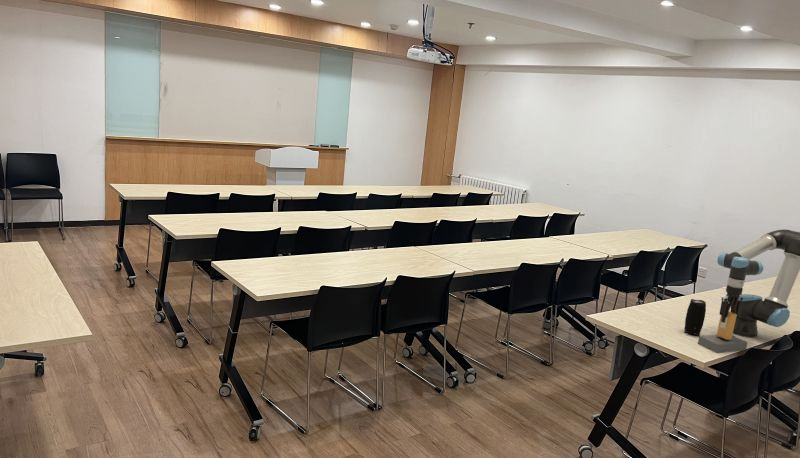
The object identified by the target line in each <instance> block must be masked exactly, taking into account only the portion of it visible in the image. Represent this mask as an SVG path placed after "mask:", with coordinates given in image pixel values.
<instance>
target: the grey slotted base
mask: <svg viewBox="0 0 800 458" xmlns="http://www.w3.org/2000/svg"><path fill="white" fill-rule="evenodd" d="M697 345H700V346H702V347H704V348H706V349H707V350H710V351H711V352H714V353H717V354H718V353H729V352H739V351H747V347H748V341H746V340H744V339H741V338H739V337H736V336H734V335H732V339H724V338H722V337H719V336H717V334H707V335H706V334H705V335H699V336H698V342H697Z"/></svg>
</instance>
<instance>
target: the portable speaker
mask: <svg viewBox="0 0 800 458" xmlns="http://www.w3.org/2000/svg"><path fill="white" fill-rule="evenodd" d="M706 303H707V302H706V301H705V300H702V299H694V298H691V299H690V302H689V305H688V307H687V311H686V313H685V319H684V333H685V334H687V335H695V336H696V337H699V336H700V334H701V331H702V329H703V326H704V322H705V318H706V310H707V309H706V308H707V304H706Z"/></svg>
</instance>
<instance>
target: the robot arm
mask: <svg viewBox="0 0 800 458" xmlns="http://www.w3.org/2000/svg"><path fill="white" fill-rule="evenodd" d="M774 250H783V254H784V256H785V257H784V260H783V261H782V264H781V267H780V269H779V272H778V273H777V276H776V279H775V281H774V283H773V286H772V288H771V290H770V293H769V295H768V296H767V297H765V298H763V296H761V295H756V294H750V293H748V294H747V293H746V294H745V293H743V290H744V288H743V287H744V284H745V280H746V276H756V275H760V274H763V271H764V265H763V263H762V262H761V261H759V260H751V259H754V258H756V257H757V256H759V255H761V254H763V253H765V252H767V251H774ZM716 261H717V264H718V266H721V267H723V268H727V269H729V275H728V278H727V285H726V288H725V292H726V295H725V296H724V297H721V303H720V309H719V315H720V316H721V315H722V319H721V325H720V327H721V328H724V329H726V324H727V320H728V317H727V315H728V312H729V311H730V312H732V313H735V314H737V316H736V321H735V325H734V330H733V334H734V335H737V336H741V337H745V338H757V337H758V336H759V331H758V325H757V324H758V323H757V322H759V323H760V322H761V323H763V324H766V325H769V327H770V326H772V327H775V328H780V327H782V326H783V325H785V324H786V323H787V322H788V320H789V318H790V316H791V315H790V314H791V312H790V310H789V309H788V308H789V305H788V302H787V301H788V299H789V296H790V294H791V292H792V289H793V287H794V284H795V282H796V280H797V278H798V276H799V272H800V231H795V230H791V229H786V228H785V229H777V230H773V231H770V232H767V233H764V234H763V235H761V237H760V238H759V239H756V240H755V241H753V242H751V243H748V244H747V245H745V246H742V247H741V248H738V249H737V250H734V251H732V252H730V253H726V252H721V253H720V254H719V255H718V256H717V260H716ZM763 299H764V300H763Z"/></svg>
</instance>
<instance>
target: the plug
mask: <svg viewBox="0 0 800 458" xmlns="http://www.w3.org/2000/svg"><path fill="white" fill-rule="evenodd" d="M730 311H731V310H729V312H728V315H727V317H728V320H727V324H726V329H724V328H721V327H720V325H721V319H722V315H720V317H719V321H718V322H719V323H718V327H717V332H716V335H717V336H719V337H722V338H724V339H732V336H733V334H734V333H733V330H734V325H735V321H736V316H737V314H735V313H732V312H730Z"/></svg>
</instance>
